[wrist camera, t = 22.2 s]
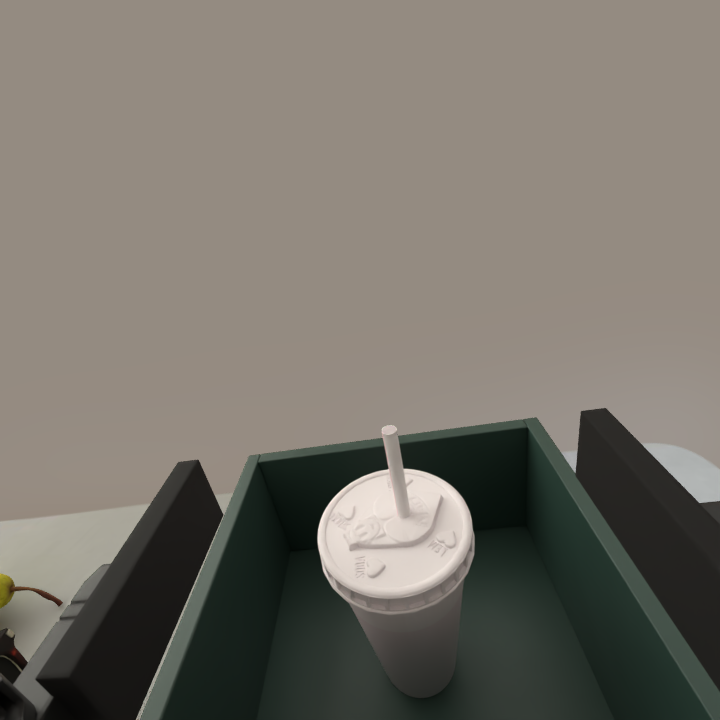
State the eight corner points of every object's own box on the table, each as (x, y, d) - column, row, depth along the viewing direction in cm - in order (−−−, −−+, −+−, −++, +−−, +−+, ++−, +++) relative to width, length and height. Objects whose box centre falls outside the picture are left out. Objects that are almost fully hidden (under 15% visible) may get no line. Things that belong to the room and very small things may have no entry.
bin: (534, 523, 27) (536, 416, 23) (720, 916, 13) (807, 809, 9) (284, 550, 28) (248, 455, 24) (202, 927, 14) (88, 839, 10)
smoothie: (513, 687, 18) (510, 450, 12) (390, 769, 16) (315, 540, 10) (438, 574, 24) (410, 373, 18) (340, 627, 22) (272, 423, 16)
